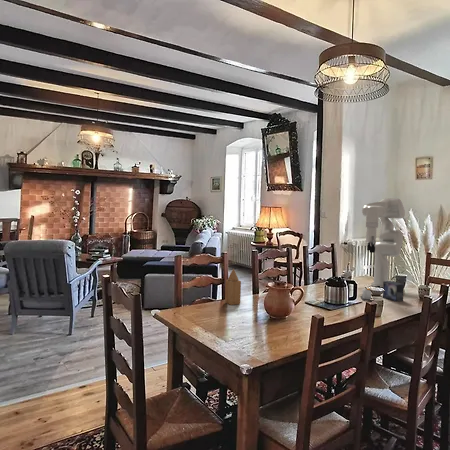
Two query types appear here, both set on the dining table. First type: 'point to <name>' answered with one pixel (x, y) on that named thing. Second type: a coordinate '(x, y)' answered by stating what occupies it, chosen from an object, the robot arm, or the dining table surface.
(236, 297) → the decorative item
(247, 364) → the dining table surface
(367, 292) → the link
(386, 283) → the small box
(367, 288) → the keeper
